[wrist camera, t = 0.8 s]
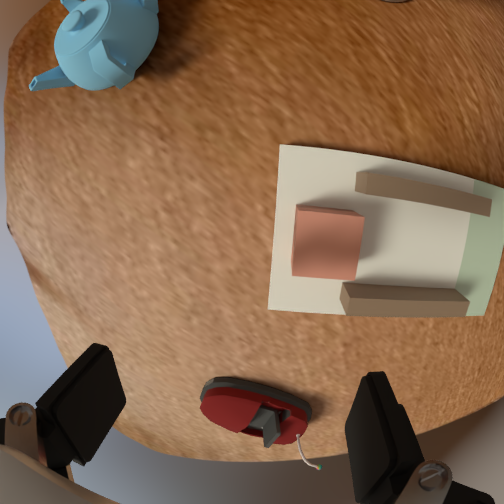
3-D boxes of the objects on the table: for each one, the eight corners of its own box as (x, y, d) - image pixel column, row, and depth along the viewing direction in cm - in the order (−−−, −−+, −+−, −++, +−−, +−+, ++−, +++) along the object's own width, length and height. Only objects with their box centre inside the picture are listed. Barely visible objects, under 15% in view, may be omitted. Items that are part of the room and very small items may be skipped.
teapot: (64, 100, 29) (11, 90, 18) (93, 14, 24) (51, -11, 14) (149, 97, 28) (99, 74, 18) (181, 0, 24) (149, -43, 13)
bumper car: (213, 364, 38) (195, 414, 28) (335, 403, 38) (342, 452, 28) (196, 403, 41) (179, 448, 31) (305, 436, 41) (306, 481, 31)
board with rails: (280, 146, 28) (279, 139, 23) (502, 189, 26) (529, 195, 20) (268, 301, 34) (265, 327, 28) (477, 309, 31) (497, 328, 25)
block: (295, 204, 28) (298, 210, 24) (352, 210, 28) (364, 217, 23) (290, 260, 30) (292, 275, 25) (345, 265, 29) (354, 280, 25)
